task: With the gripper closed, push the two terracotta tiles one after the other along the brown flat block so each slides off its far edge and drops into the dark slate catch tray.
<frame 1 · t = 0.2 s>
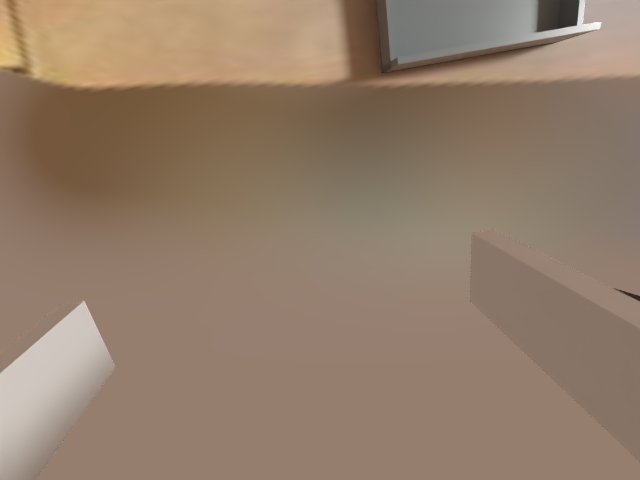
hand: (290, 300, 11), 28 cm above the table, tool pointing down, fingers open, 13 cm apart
tray: (471, 9, 33), on the table
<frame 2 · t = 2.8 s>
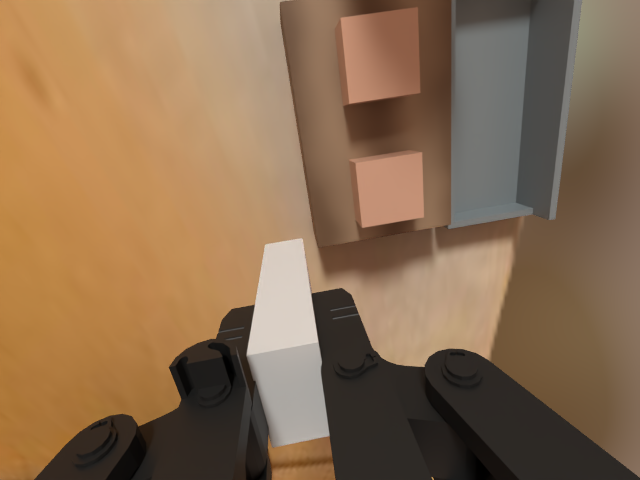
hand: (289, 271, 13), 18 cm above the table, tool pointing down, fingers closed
brown flat block: (363, 128, 29), on the table
tile b: (372, 64, 23), point 4 cm above the table, touching brown flat block
tray: (478, 110, 29), on the table
tile a: (381, 185, 26), point 4 cm above the table, touching brown flat block
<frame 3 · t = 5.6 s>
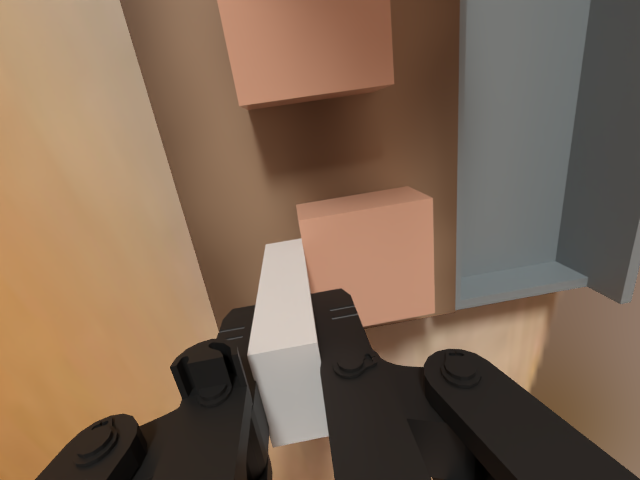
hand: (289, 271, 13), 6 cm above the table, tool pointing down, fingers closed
brown flat block: (310, 147, 17), on the table
tile b: (301, 26, 11), point 4 cm above the table, touching brown flat block
tray: (501, 118, 18), on the table
tile a: (358, 247, 15), point 5 cm above the table
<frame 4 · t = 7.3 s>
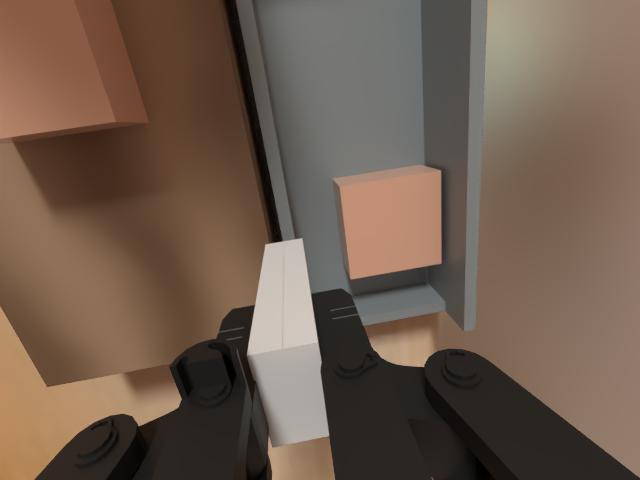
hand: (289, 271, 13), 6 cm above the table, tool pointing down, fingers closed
brown flat block: (148, 170, 17), on the table
tile b: (52, 57, 11), point 4 cm above the table, touching brown flat block
tray: (350, 139, 17), on the table
tile a: (393, 227, 16), point 3 cm above the table, tilted 180°, touching tray
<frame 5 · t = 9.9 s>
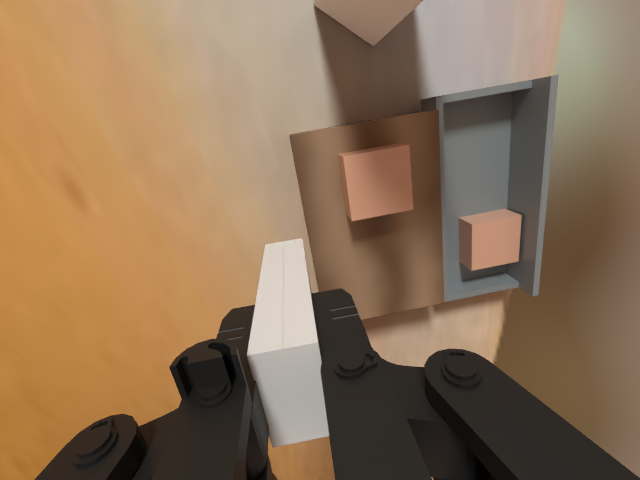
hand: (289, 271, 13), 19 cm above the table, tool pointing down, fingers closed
brown flat block: (364, 216, 32), on the table
tile b: (371, 179, 26), point 4 cm above the table, touching brown flat block
tray: (468, 196, 33), on the table
tile a: (496, 243, 31), point 3 cm above the table, tilted 180°, touching tray
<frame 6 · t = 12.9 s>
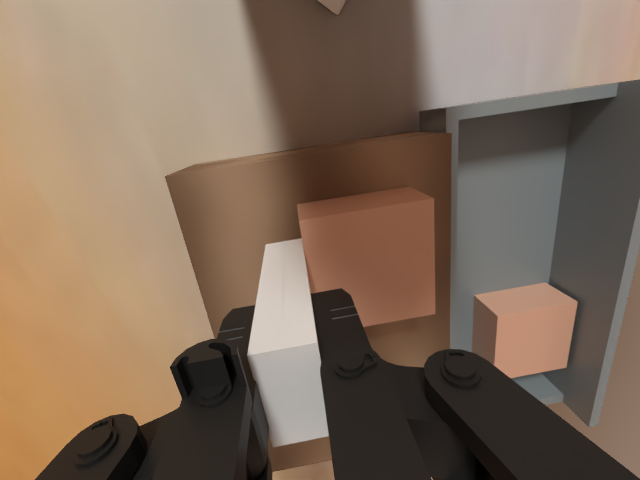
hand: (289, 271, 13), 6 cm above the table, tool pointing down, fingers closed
brown flat block: (326, 291, 20), on the table
tile b: (358, 247, 15), point 5 cm above the table
tray: (489, 262, 21), on the table
tile a: (533, 343, 20), point 3 cm above the table, tilted 180°, touching tray
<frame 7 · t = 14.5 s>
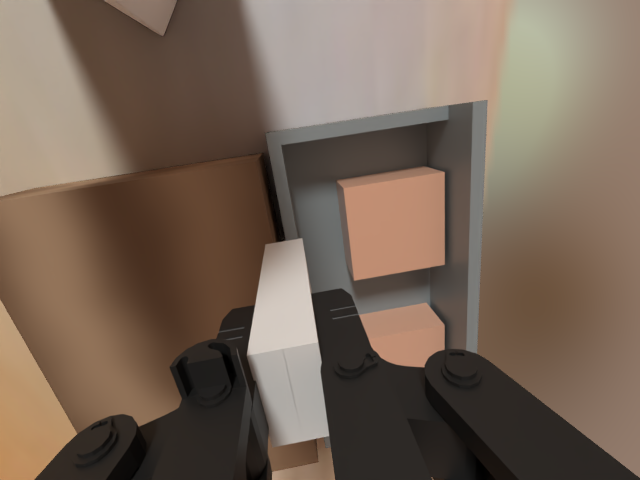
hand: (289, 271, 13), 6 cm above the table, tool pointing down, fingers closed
brown flat block: (197, 313, 20), on the table
tile b: (397, 228, 16), point 3 cm above the table, tilted 180°, touching tray
tray: (367, 282, 20), on the table
tile a: (404, 366, 19), point 3 cm above the table, tilted 180°, touching tray
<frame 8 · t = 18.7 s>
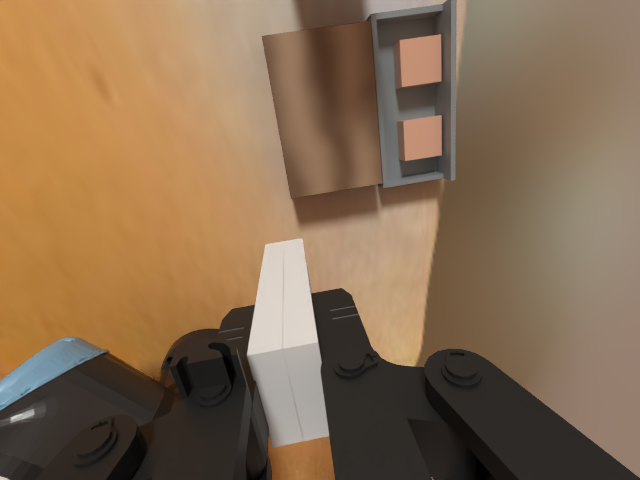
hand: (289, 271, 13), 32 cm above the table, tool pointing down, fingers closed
brown flat block: (323, 117, 42), on the table
tile b: (421, 61, 38), point 3 cm above the table, tilted 180°, touching tray
tray: (404, 105, 42), on the table
tile a: (423, 138, 41), point 3 cm above the table, tilted 180°, touching tray
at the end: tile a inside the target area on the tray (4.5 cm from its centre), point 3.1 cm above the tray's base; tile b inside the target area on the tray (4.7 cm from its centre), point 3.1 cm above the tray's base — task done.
